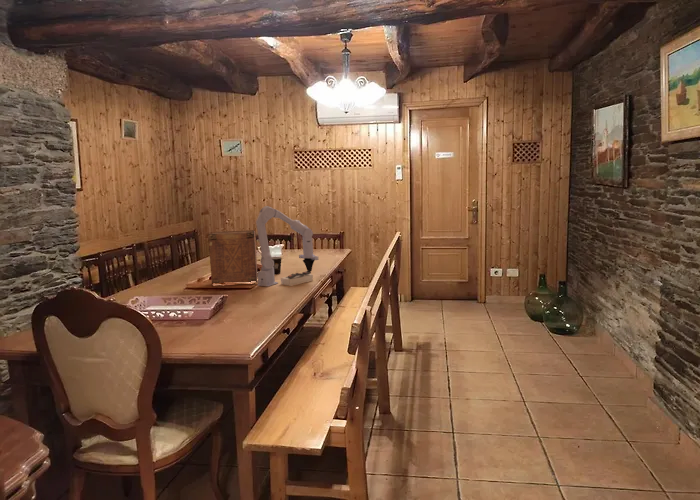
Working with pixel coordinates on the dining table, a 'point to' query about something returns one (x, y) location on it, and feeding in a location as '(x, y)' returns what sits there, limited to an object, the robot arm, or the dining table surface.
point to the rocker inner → (292, 276)
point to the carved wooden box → (233, 256)
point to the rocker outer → (306, 272)
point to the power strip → (296, 280)
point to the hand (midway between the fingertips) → (309, 271)
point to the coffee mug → (276, 265)
